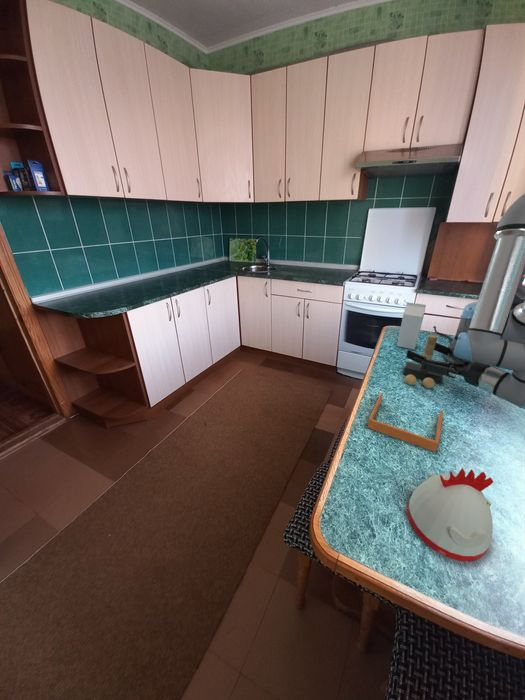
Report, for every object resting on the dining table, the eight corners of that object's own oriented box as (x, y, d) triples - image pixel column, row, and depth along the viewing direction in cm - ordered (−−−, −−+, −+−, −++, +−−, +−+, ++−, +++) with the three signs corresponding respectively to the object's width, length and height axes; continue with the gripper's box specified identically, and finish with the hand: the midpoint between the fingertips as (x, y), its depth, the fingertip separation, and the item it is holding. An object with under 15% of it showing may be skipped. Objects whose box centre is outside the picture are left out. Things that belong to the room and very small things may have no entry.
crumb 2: (422, 383, 101) (424, 374, 100) (433, 386, 99) (436, 377, 98) (420, 388, 99) (423, 379, 97) (432, 391, 97) (435, 382, 95)
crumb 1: (404, 380, 103) (406, 371, 101) (415, 383, 101) (418, 374, 100) (403, 385, 100) (405, 376, 99) (414, 388, 99) (416, 379, 97)
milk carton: (414, 350, 123) (424, 307, 114) (396, 346, 127) (405, 304, 118) (416, 343, 128) (427, 302, 120) (399, 340, 132) (408, 300, 123)
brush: (405, 368, 110) (414, 329, 103) (441, 377, 104) (454, 336, 97) (403, 374, 106) (412, 334, 99) (440, 383, 101) (453, 342, 93)
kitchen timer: (503, 568, 51) (539, 514, 44) (418, 554, 53) (440, 500, 46) (467, 496, 63) (491, 445, 56) (400, 487, 65) (415, 437, 58)
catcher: (379, 400, 93) (381, 392, 92) (440, 418, 85) (443, 410, 83) (367, 427, 82) (368, 419, 81) (435, 452, 74) (438, 443, 72)
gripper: (457, 399, 83) (394, 367, 100) (501, 375, 94) (438, 350, 111) (464, 377, 80) (398, 348, 97) (509, 355, 90) (443, 332, 107)
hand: (419, 349), depth 104 cm, fingers open, 12 cm apart
